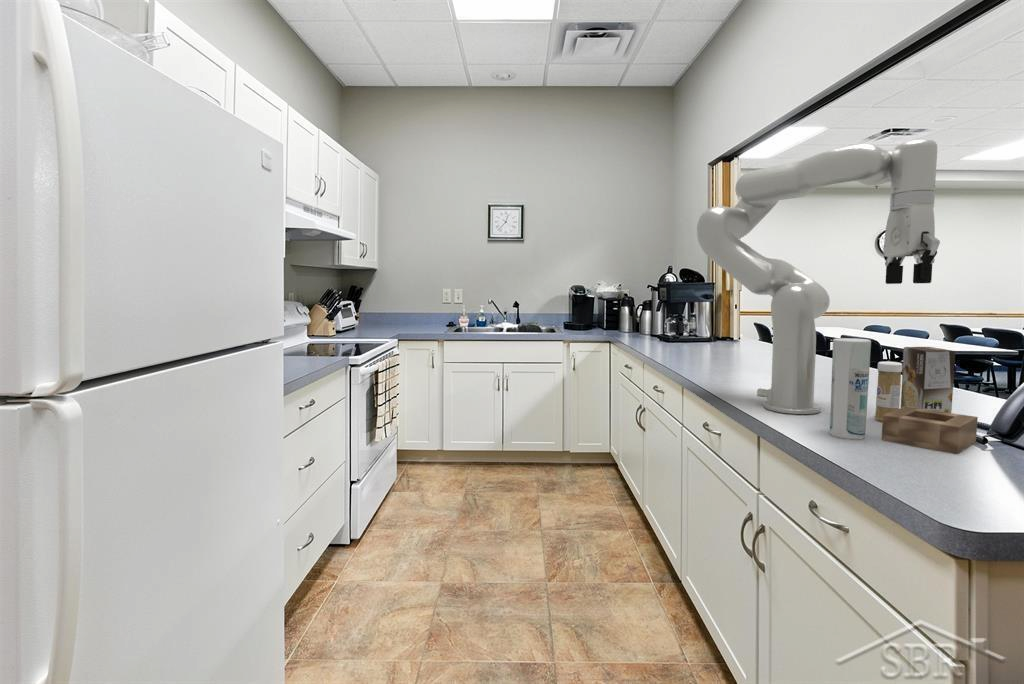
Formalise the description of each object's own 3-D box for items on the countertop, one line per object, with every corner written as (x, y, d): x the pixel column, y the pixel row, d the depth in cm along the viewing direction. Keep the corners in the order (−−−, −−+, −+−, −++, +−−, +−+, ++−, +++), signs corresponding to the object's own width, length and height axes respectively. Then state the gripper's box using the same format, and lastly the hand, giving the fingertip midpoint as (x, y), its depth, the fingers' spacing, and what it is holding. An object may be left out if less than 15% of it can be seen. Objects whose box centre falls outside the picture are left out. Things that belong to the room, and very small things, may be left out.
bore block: (881, 439, 106) (882, 415, 105) (903, 429, 113) (904, 406, 112) (957, 454, 96) (959, 427, 96) (975, 441, 103) (977, 416, 103)
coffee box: (952, 421, 119) (957, 350, 117) (921, 420, 120) (926, 350, 118) (926, 411, 128) (931, 346, 126) (898, 411, 129) (902, 346, 127)
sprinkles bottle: (869, 418, 122) (872, 361, 121) (887, 417, 123) (891, 360, 122) (885, 423, 118) (889, 364, 117) (904, 422, 118) (907, 363, 117)
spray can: (841, 429, 114) (845, 337, 112) (872, 436, 108) (878, 339, 106) (822, 433, 111) (826, 339, 109) (853, 441, 105) (858, 341, 103)
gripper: (870, 209, 120) (866, 284, 122) (918, 196, 103) (913, 283, 105) (905, 207, 119) (901, 283, 121) (960, 194, 102) (954, 282, 104)
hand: (907, 283), depth 113 cm, fingers open, 9 cm apart
